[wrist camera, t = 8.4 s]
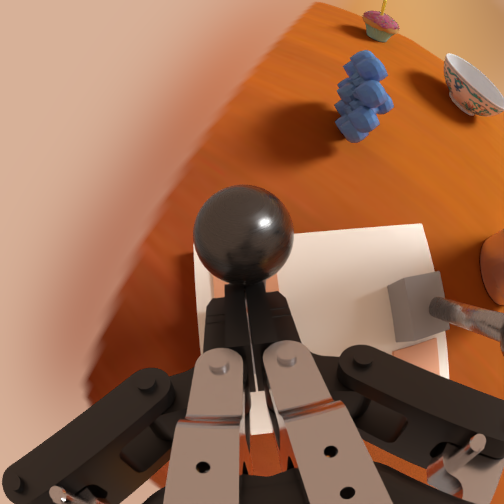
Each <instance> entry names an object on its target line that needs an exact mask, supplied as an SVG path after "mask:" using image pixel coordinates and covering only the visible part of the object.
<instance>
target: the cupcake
mask: <svg viewBox="0 0 504 504" xmlns="http://www.w3.org/2000/svg"><path fill="white" fill-rule="evenodd" d="M386 2H387V1H386V0H384V1H383V5H382V10H381V12H377V11H368V12H365V13H364V15H363V20H364V22H365V24H366V30H367V35H368V36H369V37H371V38H372V39H374V40H377V41H380V42H386V41H387V40H388V39H389V38H390V37H391V36H392V35H394V34H397V33H398V31H399V26H398V24H397V23H396V22H395V21H394V20H393V18H391V17H390V16H388V15H386V14H385V13H384V10H385V6H386Z"/></svg>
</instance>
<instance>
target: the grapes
mask: <svg viewBox="0 0 504 504" xmlns="http://www.w3.org/2000/svg"><path fill="white" fill-rule="evenodd" d="M350 59H351V61H350V62H348V63H347V64H345V65H344V66H343V67H344V69H345V71H346V73H347V75H348V76H349V78H346V79H344V80H342V81H341V82H340V83H338V84H337V85H338V87H339V89H338V90H337V92H338V94H339V96H340V98H341V99H342V100H340V101H339V102H337V103H336V104H335V105H334V106H335V108H336V109H337V111H338V113H339V114H340V115H341V117H340V118H338V119H337V120H336V121H335V123H336V125H337V127H338V129H339V130H340V132H341V133H342V134H343V135H344V136H345V138H346V139H347V140H348V141H349V142H351V143H358V142H360V141H362V140H363V139H364V138H365V137H366V136H368V135H369V133H368V132H370V131H372V130H374V129H375V128H376V127H377V126H378V125H379V124H380V123H379V120H378V118H377V116H376V114H377V113H378V114H385V113H387V112H389V111H390V110H391V109H392V108H393V107H394V105H393V102H392V100H391V98H390V96H389V95H388V94H387V93H386V91H385V89H384V88H383V87H382V85H381V84H380V83H379V81H381V80H383V79H384V78H385V77H387V76H388V74H387V71H386V69H385V67H384V65H383V64H382V62H381V61H380V60H379V59H378V58H376V57H375V56H374V55H373V53H372V52H371V51H368V50H364V51H360V52H358V53H356V54H354V55H353V56H352V57H350Z"/></svg>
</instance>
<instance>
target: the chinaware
mask: <svg viewBox="0 0 504 504" xmlns="http://www.w3.org/2000/svg"><path fill="white" fill-rule="evenodd" d="M444 76H445V80H446V83H447V86H448V88H449V90H450V92H449V96H450V98H451V100H452V101H453V102H454V103H455V105H456V106H457V107H458V108H460V109H461V110H462V111H463V112H465V113H466V114H468V115H470V116H474V115H475V114H476V115H480V116H494V115H497V114H499V113H501V112H503V111H504V97H503V96H502V94H501V93H500V92H499V90H498V89H497V88H496V86H495V85H494V84H493V83H492V82H491V81H490V80H489V79H488V78H487V77H486V76H485V75H484V74H483V73H481V71H479V70H478V69H477V68H476V67H474V66H473V65H472V64H470V63H469V62H467V61H466V60H464V59H462V58H460V57H459V56H456V55H453V54H447V55H446V57H445V62H444Z"/></svg>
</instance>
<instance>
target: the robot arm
mask: <svg viewBox="0 0 504 504" xmlns="http://www.w3.org/2000/svg"><path fill="white" fill-rule="evenodd" d="M480 266H481V273H482V278H483V281H484V285H485V287H486V290H487V292H488V294H489V295H490V297H491V298H492V299H493V301H494V302H495V303H497V304H499V305H504V229H502V230H501V231H499V232H498V233H496V234H494V235H493V236H491V237H489V238H488V239H487V240H485V242H484V243H483V246H482V249H481V255H480ZM245 290H246V300H247V309H248V318H249V327H250V334H251V342H252V349H253V357H254V364H255V372H256V379H257V386H258V391H265V398H266V407H267V413H268V417H269V420H270V424H271V428H272V432H273V435H274V439H275V443H276V447H277V450H278V454H279V459H280V465H281V470H282V473H279V474H276V475H273V476H269V477H264V476H254V475H253V466H252V452H251V410H250V409H251V395H250V392H256V387H255V379H254V370H253V362H252V353H251V344H250V336H249V328H248V320H247V312H246V304H245V296H244V288H243V285H235V284H225V285H224V292H225V297H220V298H212V300H211V301H210V302H209V304H208V305H207V306H206V317H205V330H204V344H203V354H202V355H201V356H200V357H199V358H198V359H197V361H196V364H195V367H193V368H192V369H190V370H188V371H186V372H183V373H180V374H176V375H173V376H170V377H169V376H168V375H167V373H166V372H164V371H163V370H161V369H158V368H145V369H142V370H139V371H137V372H135V373H134V374H133V375H131V376H130V377H129V378H128V379H126V380H125V381H124V382H122V383H121V384H120V385H119V386H117V387H116V388H115V389H113V390H112V391H111V392H109V393H108V394H107V395H106V396H104V397H103V398H102V399H100V400H99V401H98V402H96V403H95V404H94V405H93V406H91V407H90V408H89V409H87V410H86V411H85V412H83V413H82V414H81V415H79V416H78V417H77V418H75V419H74V420H73V421H71V422H70V423H69V424H67V425H66V426H65V427H63V428H62V429H61V430H59V431H58V432H57V433H55V434H54V435H53V436H51V437H50V438H48V439H47V440H46V441H44V442H43V443H42V444H40V445H39V446H37V447H36V448H35V449H33V450H32V451H31V452H29V453H28V454H26V455H25V456H24V457H22V458H21V459H19V460H18V461H17V462H15V463H14V464H12V465H11V466H9V467H8V468H7V469H6V470H5V472H4V474H3V479H2V485H3V490H4V492H5V494H6V496H7V498H8V499H9V500H10V501H11V502H13V503H14V504H119V503H121V502H122V501H123V500H124V499H126V498H127V497H128V496H129V495H130V494H132V493H133V492H134V491H135V490H136V489H137V488H139V487H140V486H141V485H142V484H143V483H144V482H146V481H147V480H148V479H149V478H150V477H151V476H152V475H153V474H155V473H156V472H157V471H158V470H159V469H160V468H161V467H162V466H163V465H164V464H165V463H166V462H168V461H169V460H170V462H169V468H168V474H167V481H166V486H165V487H164V488H162V489H160V490H158V491H157V492H155V493H154V494H152V495H151V496H150V497H149V498H148V499H147V500H146V501H145V502H144V503H142V504H490V502H491V500H492V497H493V495H494V492H495V490H496V487H497V485H498V482H499V479H500V476H501V473H502V470H503V467H504V400H502V399H499V398H496V397H493V396H491V395H488V394H485V393H483V392H480V391H477V390H475V389H472V388H470V387H467V386H465V385H462V384H459V383H457V382H454V381H452V380H449V379H447V378H444V377H442V376H440V375H437V374H435V373H432V372H430V371H427V370H425V369H423V368H420V367H418V366H416V365H413V364H411V363H409V362H406V361H404V360H402V359H399V358H397V357H395V356H392V355H390V354H388V353H386V352H383V351H381V350H379V349H377V348H374V347H372V346H369V345H354V346H350V347H348V348H347V349H345V350H344V351H343V352H342V353H341V355H340V357H335V356H321V355H317V354H314V353H312V352H310V351H309V349H308V348H307V347H306V346H305V345H303V344H302V342H301V340H300V337H299V334H298V331H297V328H296V325H295V323H294V320H293V317H292V315H291V311H290V308H289V305H288V303H287V300H286V297H284V296H283V295H282V294H281V293H280V292H279V291H274V292H266V290H265V286H264V282H260V283H257V284H253V285H245ZM362 439H363V440H365V441H367V442H369V443H371V444H373V445H375V446H377V447H379V448H381V449H383V450H385V451H387V452H389V453H391V454H393V455H395V456H397V457H400V458H402V459H404V460H406V461H408V462H411V463H413V464H415V465H418V466H420V467H422V468H425V469H427V482H428V484H429V485H431V486H434V487H435V488H437V489H435V488H433V487H431V486H428V485H426V484H424V483H422V482H420V481H417V480H415V479H413V478H411V477H409V476H407V475H405V474H403V473H401V472H399V471H397V470H395V469H393V468H391V467H389V466H387V465H384V464H381V463H378V462H374V461H372V459H371V456H370V454H369V452H368V450H367V448H366V446H365V444H364V442H363V440H362Z"/></svg>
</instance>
